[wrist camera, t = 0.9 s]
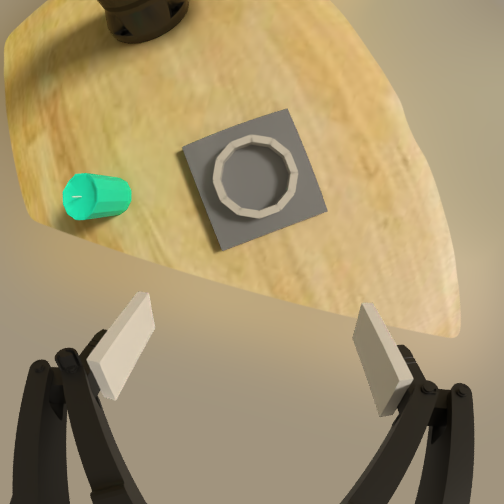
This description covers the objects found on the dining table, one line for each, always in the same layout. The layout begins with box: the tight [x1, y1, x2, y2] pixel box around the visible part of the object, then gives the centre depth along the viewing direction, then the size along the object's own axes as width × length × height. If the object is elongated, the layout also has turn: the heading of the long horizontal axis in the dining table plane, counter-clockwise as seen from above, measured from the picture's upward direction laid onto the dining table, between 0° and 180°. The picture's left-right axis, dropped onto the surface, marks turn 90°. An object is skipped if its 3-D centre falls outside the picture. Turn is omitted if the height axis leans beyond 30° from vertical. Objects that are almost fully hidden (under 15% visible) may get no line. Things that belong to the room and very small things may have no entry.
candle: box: [63, 173, 131, 220], centre depth 33 cm, size 6×6×12 cm
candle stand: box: [182, 109, 327, 251], centre depth 37 cm, size 16×16×4 cm
